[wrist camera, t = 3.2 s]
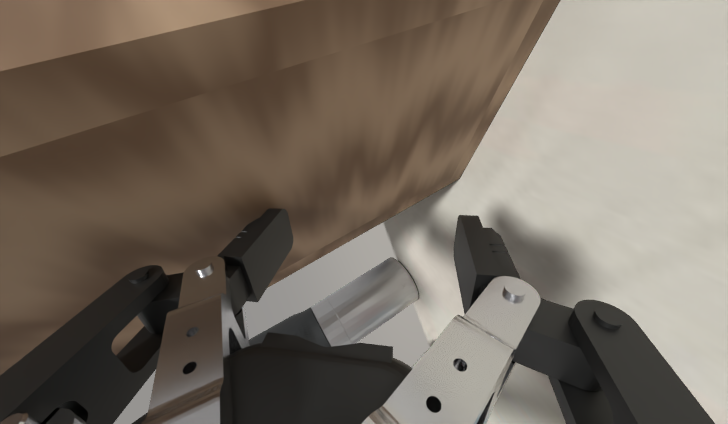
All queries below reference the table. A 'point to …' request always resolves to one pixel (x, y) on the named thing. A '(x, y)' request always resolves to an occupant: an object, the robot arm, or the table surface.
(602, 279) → the table surface
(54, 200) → the rack
